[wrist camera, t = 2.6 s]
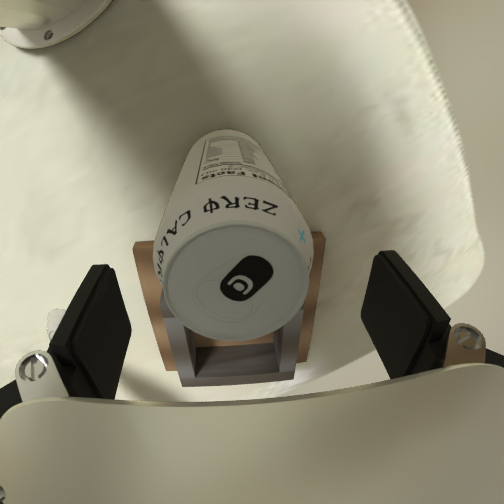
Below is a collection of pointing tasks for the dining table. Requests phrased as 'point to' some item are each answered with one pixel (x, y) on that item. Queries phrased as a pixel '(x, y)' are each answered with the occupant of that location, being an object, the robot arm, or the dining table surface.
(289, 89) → the dining table surface
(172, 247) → the energy drink can
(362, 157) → the dining table surface
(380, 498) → the robot arm
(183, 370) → the socket block
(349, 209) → the dining table surface
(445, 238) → the dining table surface
